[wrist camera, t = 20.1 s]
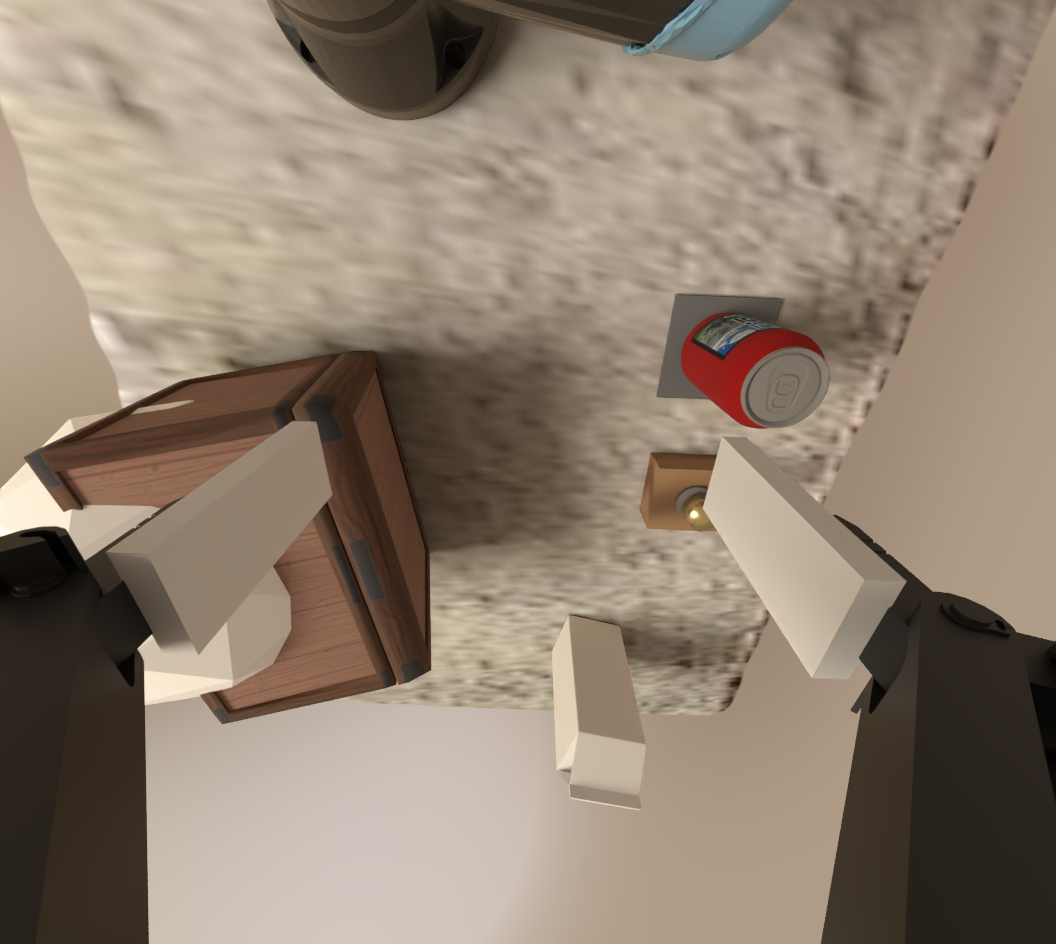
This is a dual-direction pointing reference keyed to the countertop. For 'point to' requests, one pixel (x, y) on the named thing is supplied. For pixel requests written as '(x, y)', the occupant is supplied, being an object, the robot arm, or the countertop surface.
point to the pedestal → (673, 488)
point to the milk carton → (596, 715)
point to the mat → (691, 314)
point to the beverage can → (755, 370)
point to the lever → (696, 513)
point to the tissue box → (304, 568)
